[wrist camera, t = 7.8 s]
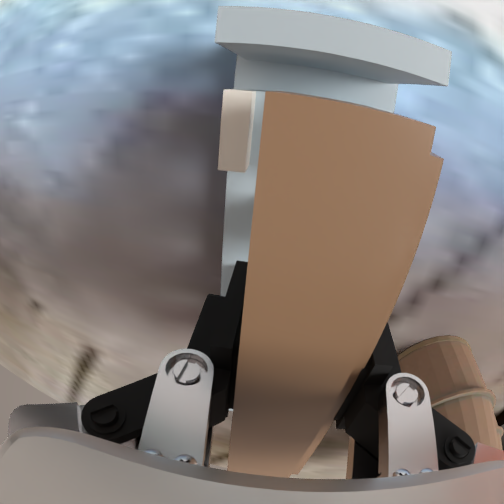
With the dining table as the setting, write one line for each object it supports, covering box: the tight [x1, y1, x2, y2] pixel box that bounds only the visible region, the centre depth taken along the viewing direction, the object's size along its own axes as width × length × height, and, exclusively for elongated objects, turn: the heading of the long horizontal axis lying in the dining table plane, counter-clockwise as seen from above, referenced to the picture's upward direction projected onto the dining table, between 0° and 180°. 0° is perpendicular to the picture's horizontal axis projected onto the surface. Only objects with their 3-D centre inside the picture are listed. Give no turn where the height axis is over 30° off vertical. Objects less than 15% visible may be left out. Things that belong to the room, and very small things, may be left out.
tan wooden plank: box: [227, 91, 444, 478], centre depth 9 cm, size 14×3×5 cm, turn 175°
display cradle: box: [215, 6, 452, 411], centre depth 15 cm, size 18×8×8 cm, turn 175°
